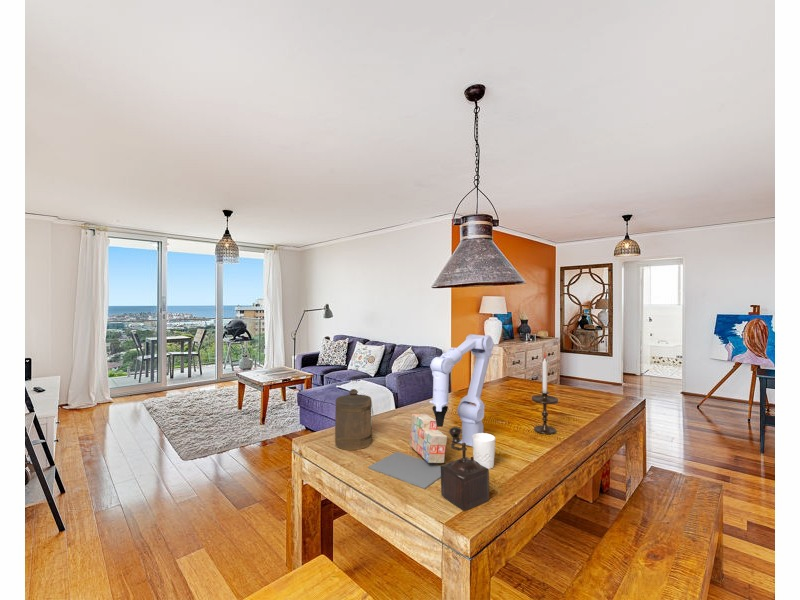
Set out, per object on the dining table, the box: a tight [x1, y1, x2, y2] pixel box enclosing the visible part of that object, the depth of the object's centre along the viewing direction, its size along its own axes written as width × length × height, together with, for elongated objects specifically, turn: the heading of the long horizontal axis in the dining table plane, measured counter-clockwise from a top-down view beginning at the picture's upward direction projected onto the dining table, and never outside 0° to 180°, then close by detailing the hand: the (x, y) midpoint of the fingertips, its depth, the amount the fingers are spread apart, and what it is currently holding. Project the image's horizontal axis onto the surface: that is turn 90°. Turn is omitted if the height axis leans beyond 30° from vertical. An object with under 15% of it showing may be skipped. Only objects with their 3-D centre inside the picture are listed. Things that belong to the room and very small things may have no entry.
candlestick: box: [531, 352, 559, 436], centre depth 166 cm, size 11×11×35 cm
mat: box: [367, 451, 441, 490], centre depth 131 cm, size 16×24×1 cm, turn 52°
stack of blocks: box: [408, 413, 448, 464], centre depth 142 cm, size 21×6×12 cm, turn 17°
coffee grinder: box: [440, 426, 490, 512], centre depth 115 cm, size 16×11×18 cm
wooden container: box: [334, 388, 373, 451], centre depth 155 cm, size 15×15×22 cm
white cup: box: [472, 432, 496, 470], centre depth 134 cm, size 8×8×10 cm
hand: (439, 426), depth 141 cm, fingers closed
